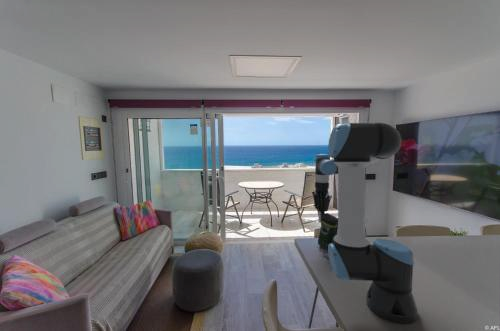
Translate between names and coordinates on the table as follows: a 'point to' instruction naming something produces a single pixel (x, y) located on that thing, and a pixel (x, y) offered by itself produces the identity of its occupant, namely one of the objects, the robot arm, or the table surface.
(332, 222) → the coffee jar
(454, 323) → the table surface
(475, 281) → the table surface
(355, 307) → the table surface
